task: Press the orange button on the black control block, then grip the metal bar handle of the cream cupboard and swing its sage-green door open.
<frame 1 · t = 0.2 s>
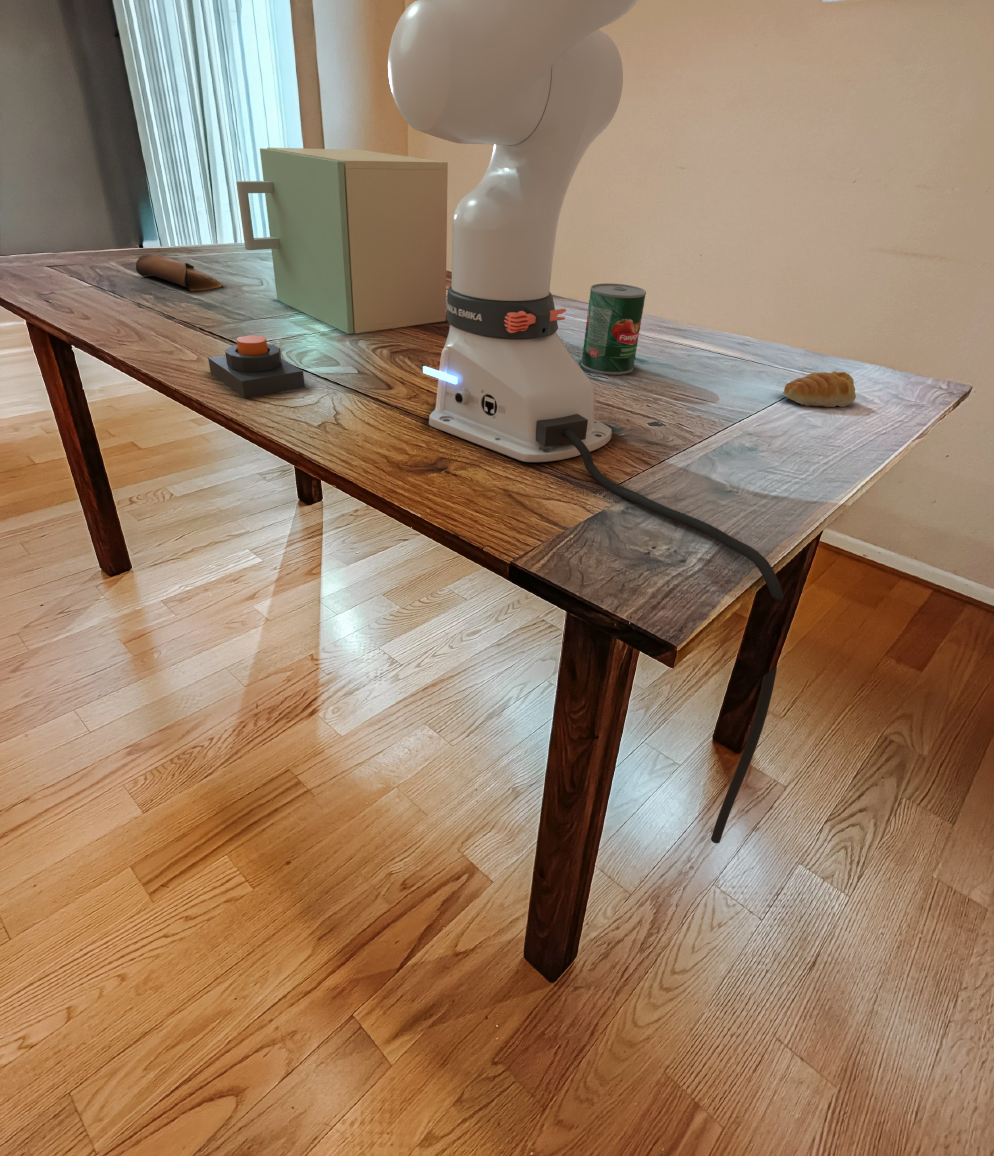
cupboard door: (289, 240, 111), point 12 cm above the table, hinge at 0.0°
button: (252, 346, 88), point 4 cm above the table, slide at 0.1 cm
pastry: (817, 402, 96), on the table
canned tomato: (607, 368, 104), on the table
cupboard: (362, 310, 124), on the table
control block: (257, 381, 90), on the table
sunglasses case: (181, 283, 135), on the table
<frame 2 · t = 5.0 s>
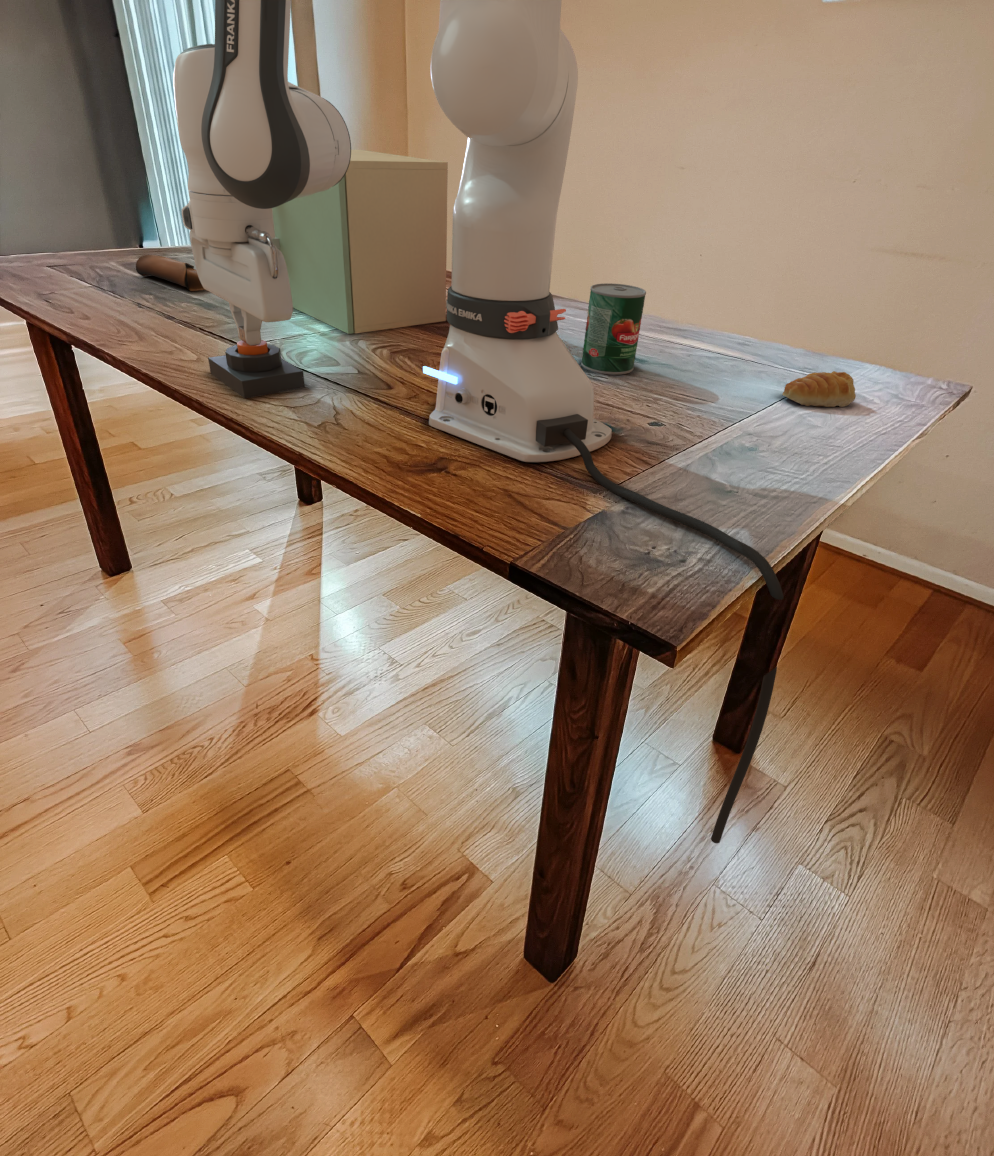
hand: (250, 342, 88), 5 cm above the table, tool pointing down, fingers closed, pressing on button
button: (252, 349, 88), point 4 cm above the table, slide at -0.4 cm, touching gripper
everything else where it was.
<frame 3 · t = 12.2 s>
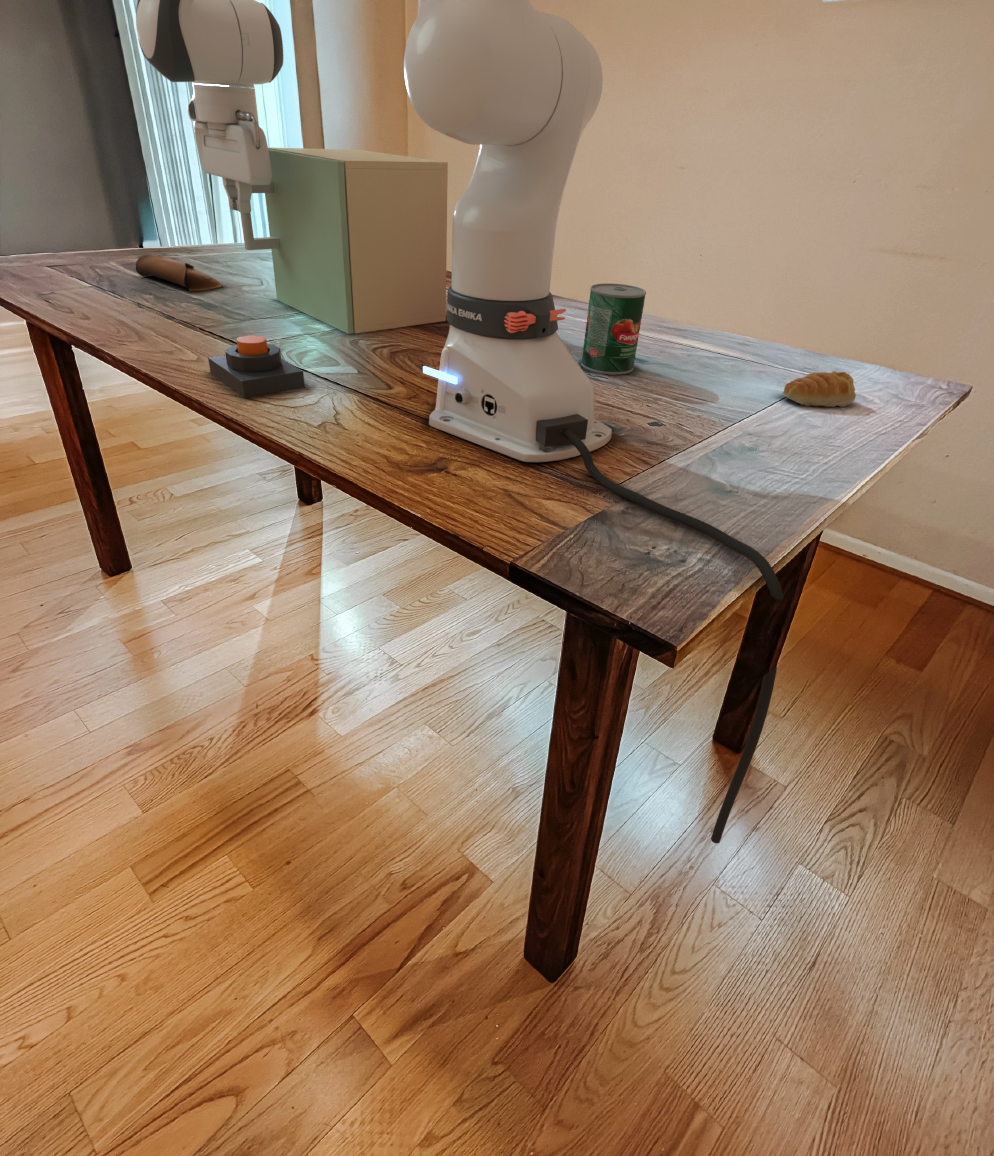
hand: (240, 211, 113), 15 cm above the table, tool pointing down, fingers closed on cupboard door, 2 cm apart
cupboard door: (289, 240, 111), point 12 cm above the table, hinge at 0.0°, touching gripper
button: (252, 346, 88), point 4 cm above the table, slide at 0.1 cm
everything else where it was.
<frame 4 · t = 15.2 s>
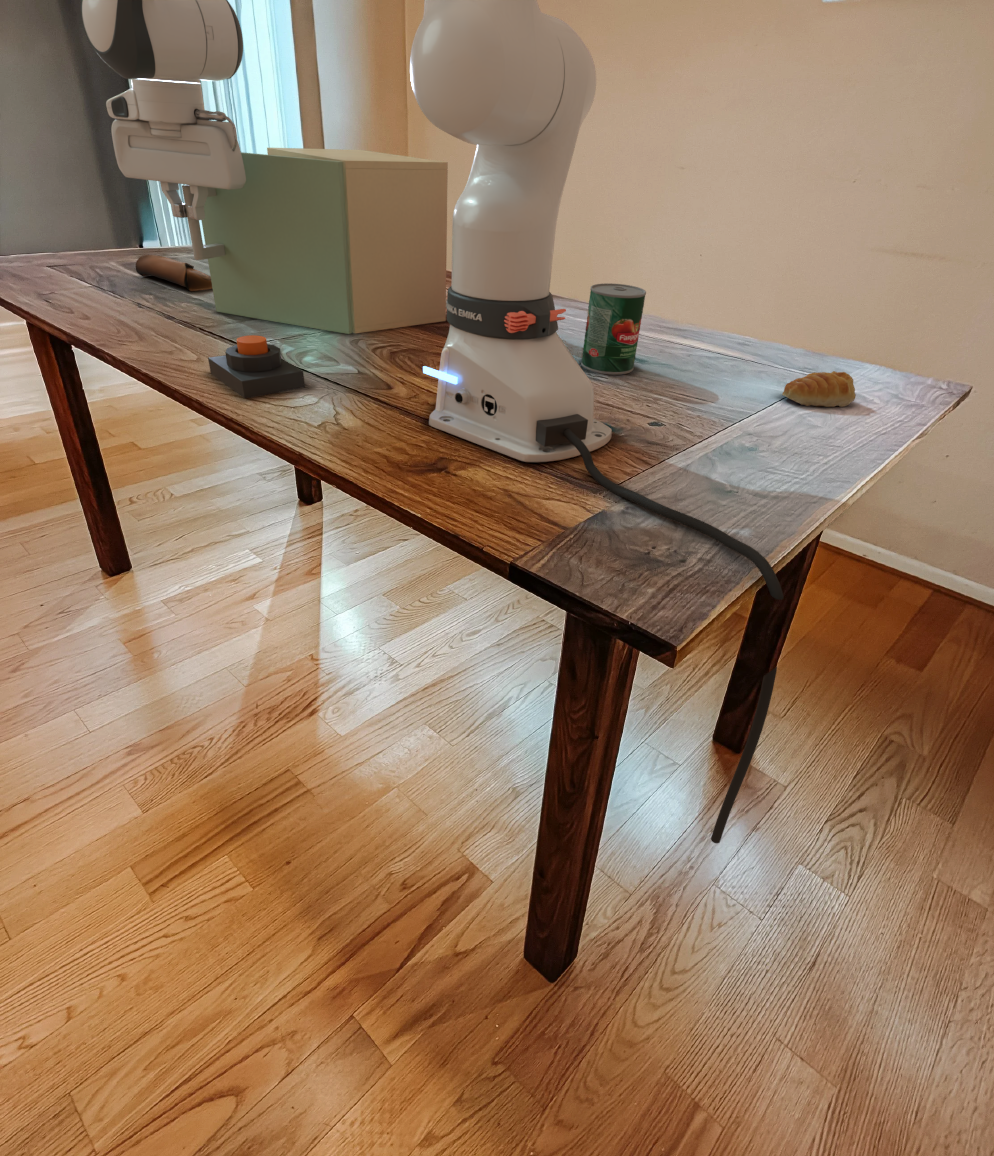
hand: (189, 218, 104), 15 cm above the table, tool pointing down, fingers closed on cupboard door, 2 cm apart
cupboard door: (261, 245, 106), point 12 cm above the table, hinge at 29.2°, touching gripper
everything else where it was.
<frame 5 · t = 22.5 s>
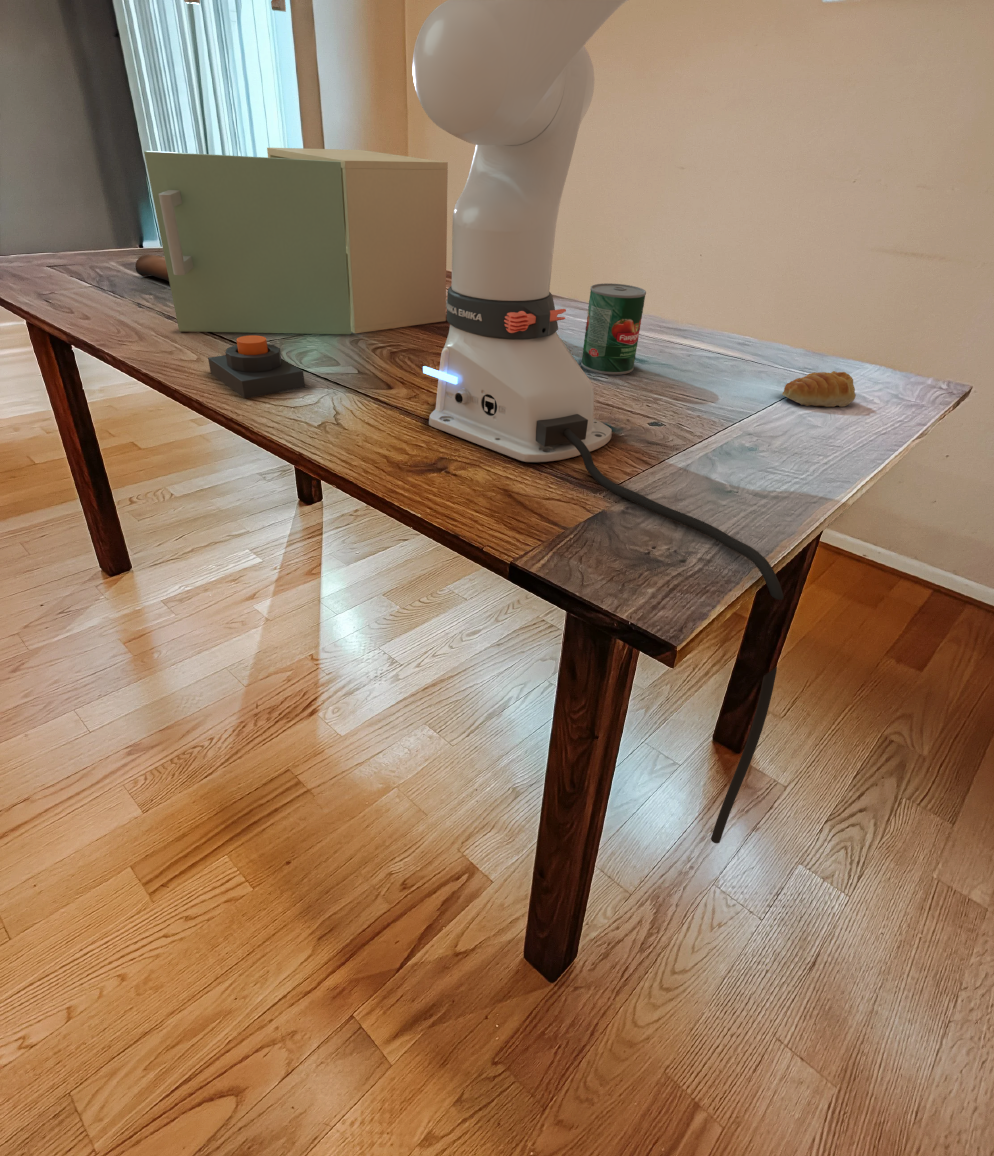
hand: (236, 7, 79), 39 cm above the table, tool pointing down, fingers open, 8 cm apart
cupboard door: (253, 253, 100), point 12 cm above the table, hinge at 58.7°
everything else where it was.
at the end: button pushed in 1.0 cm at the most during the clip, back to where it started at the end; button slide at 0.1 cm; cupboard door at +59° (first picture: +0°) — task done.
